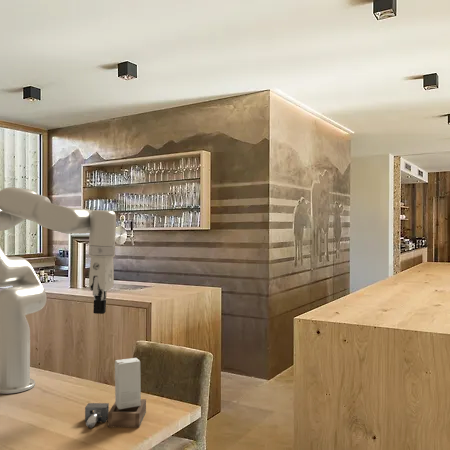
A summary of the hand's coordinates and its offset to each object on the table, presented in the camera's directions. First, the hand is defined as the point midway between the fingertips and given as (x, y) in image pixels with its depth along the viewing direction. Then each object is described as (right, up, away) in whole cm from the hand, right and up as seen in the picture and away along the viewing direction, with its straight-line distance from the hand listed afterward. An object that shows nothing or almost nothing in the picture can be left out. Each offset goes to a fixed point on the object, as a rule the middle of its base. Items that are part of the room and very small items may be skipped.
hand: (99, 313), depth 142 cm
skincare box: (+12, -22, -16) cm, 29 cm away
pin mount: (+4, -25, -16) cm, 30 cm away
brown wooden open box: (+12, -25, -16) cm, 32 cm away
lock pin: (+4, -25, -18) cm, 31 cm away
